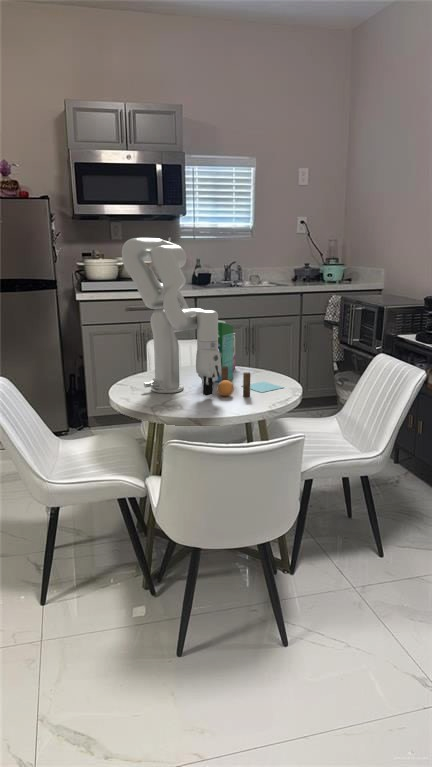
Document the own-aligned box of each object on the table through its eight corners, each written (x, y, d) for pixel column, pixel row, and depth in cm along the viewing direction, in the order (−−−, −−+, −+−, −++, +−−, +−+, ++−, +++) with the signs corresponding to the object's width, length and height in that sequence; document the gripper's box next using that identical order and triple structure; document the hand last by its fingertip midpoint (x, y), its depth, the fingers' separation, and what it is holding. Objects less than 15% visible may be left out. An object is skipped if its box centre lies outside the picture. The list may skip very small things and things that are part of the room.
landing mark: (261, 392, 201) (261, 392, 201) (241, 386, 211) (241, 386, 211) (284, 387, 209) (284, 387, 208) (263, 382, 218) (263, 381, 218)
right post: (246, 397, 195) (246, 374, 192) (241, 396, 197) (241, 372, 194) (251, 396, 196) (251, 373, 194) (247, 395, 198) (247, 371, 196)
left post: (224, 390, 205) (224, 367, 202) (220, 389, 207) (220, 366, 204) (229, 389, 206) (229, 367, 204) (225, 388, 208) (225, 365, 206)
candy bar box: (224, 367, 245) (225, 332, 241) (235, 368, 244) (235, 332, 240) (220, 373, 234) (220, 336, 230) (231, 373, 233) (231, 336, 229)
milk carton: (233, 378, 224) (233, 319, 218) (221, 383, 216) (222, 322, 210) (215, 376, 228) (215, 318, 222) (203, 380, 221) (203, 320, 215)
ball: (235, 380, 194) (237, 395, 196) (228, 377, 199) (230, 392, 201) (220, 383, 192) (222, 399, 193) (214, 380, 197) (216, 395, 199)
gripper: (228, 347, 185) (228, 397, 190) (203, 341, 197) (204, 388, 201) (211, 349, 181) (211, 400, 185) (187, 343, 192) (188, 392, 197)
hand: (207, 394), depth 193 cm, fingers closed
